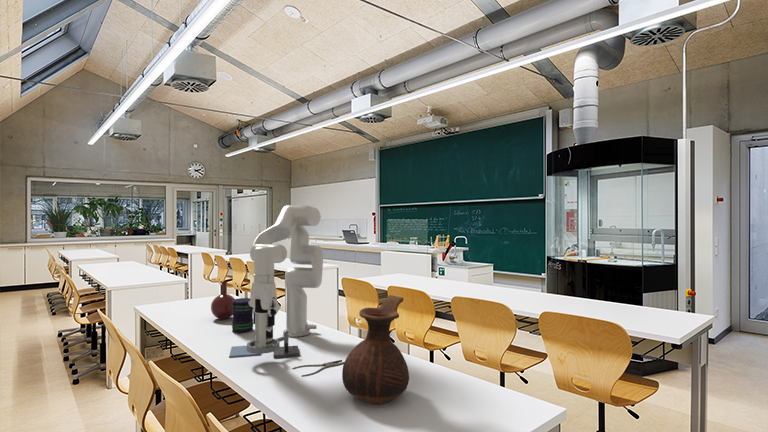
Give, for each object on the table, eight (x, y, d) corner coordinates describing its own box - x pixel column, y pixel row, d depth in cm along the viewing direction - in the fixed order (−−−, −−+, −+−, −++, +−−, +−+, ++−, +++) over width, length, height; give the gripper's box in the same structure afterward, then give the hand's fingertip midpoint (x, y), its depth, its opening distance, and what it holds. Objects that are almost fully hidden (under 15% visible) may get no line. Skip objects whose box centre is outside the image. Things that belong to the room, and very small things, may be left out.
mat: (261, 345, 179) (261, 344, 179) (260, 355, 168) (260, 353, 168) (231, 348, 176) (231, 346, 176) (229, 357, 164) (229, 356, 164)
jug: (420, 406, 125) (421, 306, 125) (350, 415, 119) (351, 310, 118) (397, 378, 146) (398, 293, 145) (336, 384, 139) (337, 296, 139)
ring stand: (297, 348, 176) (297, 327, 176) (301, 364, 157) (301, 341, 157) (248, 352, 171) (248, 330, 171) (245, 369, 152) (246, 345, 152)
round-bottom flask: (231, 322, 217) (231, 284, 217) (206, 321, 217) (206, 283, 217) (240, 315, 230) (240, 280, 230) (216, 315, 230) (217, 279, 230)
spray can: (268, 353, 156) (268, 300, 155) (251, 351, 157) (251, 299, 157) (276, 347, 162) (276, 296, 162) (260, 345, 164) (260, 295, 163)
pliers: (288, 368, 152) (330, 355, 167) (288, 371, 152) (330, 357, 167) (303, 376, 145) (346, 361, 160) (303, 378, 145) (346, 363, 160)
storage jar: (249, 333, 197) (249, 302, 196) (228, 333, 197) (228, 302, 197) (256, 328, 206) (256, 298, 206) (236, 327, 207) (236, 297, 207)
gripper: (240, 277, 160) (240, 323, 160) (273, 282, 152) (273, 330, 152) (255, 275, 167) (255, 319, 167) (288, 279, 158) (287, 325, 159)
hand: (264, 324), depth 160 cm, fingers closed on spray can, 6 cm apart
